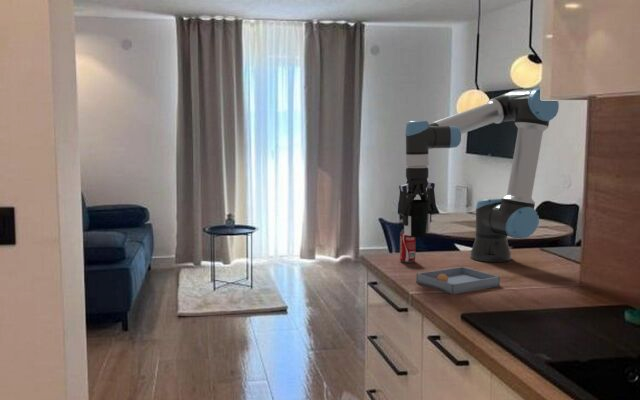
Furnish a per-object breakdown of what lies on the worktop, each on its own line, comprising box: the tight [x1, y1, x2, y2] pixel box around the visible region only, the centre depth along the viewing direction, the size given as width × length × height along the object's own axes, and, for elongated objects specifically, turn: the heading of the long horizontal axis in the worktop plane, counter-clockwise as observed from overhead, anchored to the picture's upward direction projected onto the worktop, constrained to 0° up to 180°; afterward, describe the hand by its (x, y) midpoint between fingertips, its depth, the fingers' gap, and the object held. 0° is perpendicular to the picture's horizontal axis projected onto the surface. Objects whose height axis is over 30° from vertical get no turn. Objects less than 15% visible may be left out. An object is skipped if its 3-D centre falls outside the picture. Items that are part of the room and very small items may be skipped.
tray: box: [416, 266, 501, 295], centre depth 205 cm, size 20×17×3 cm
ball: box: [437, 274, 448, 282], centre depth 202 cm, size 4×4×4 cm
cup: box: [409, 199, 429, 238], centre depth 217 cm, size 8×8×12 cm
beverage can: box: [399, 228, 417, 264], centre depth 239 cm, size 6×6×12 cm
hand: (417, 233), depth 217 cm, fingers closed on cup, 8 cm apart
